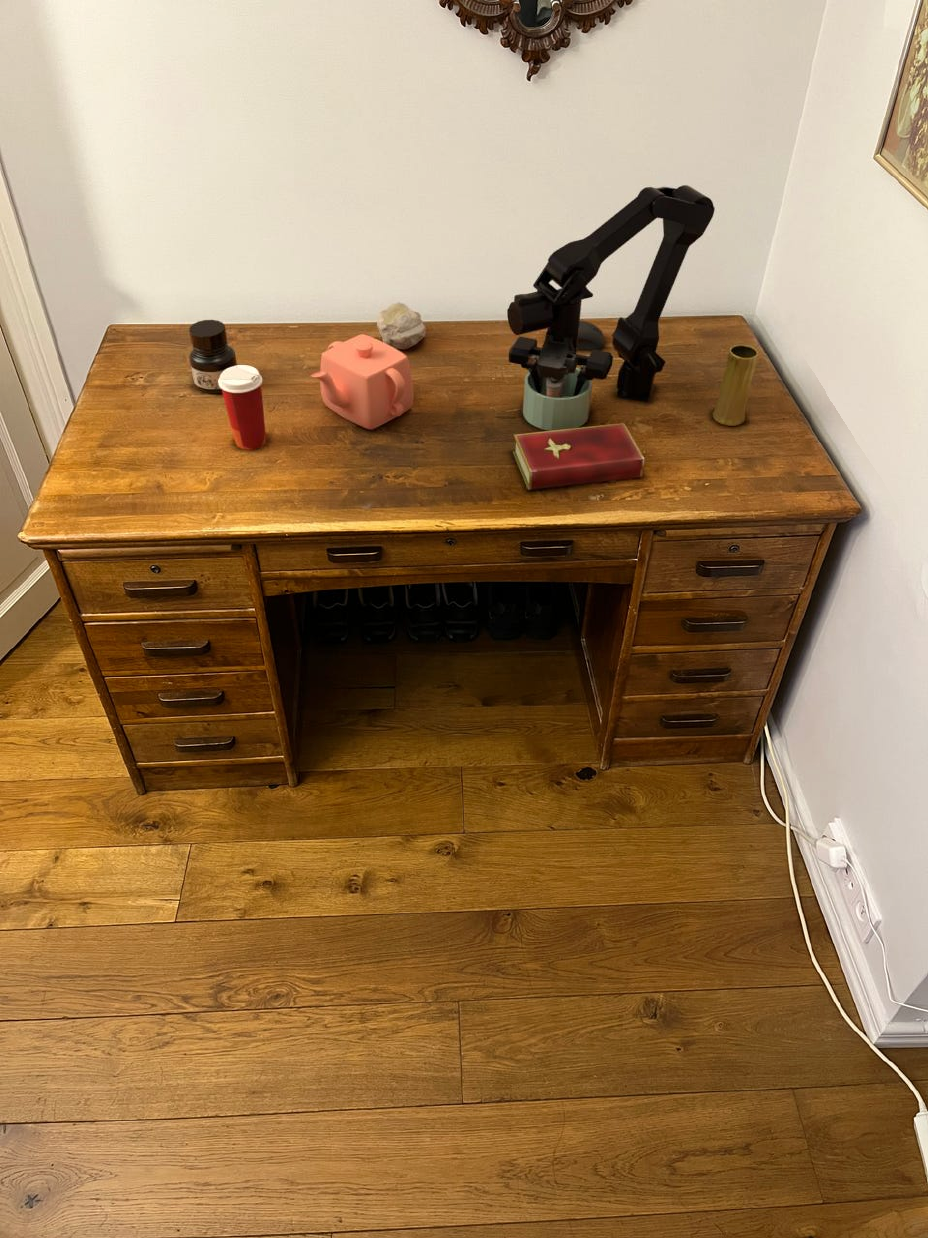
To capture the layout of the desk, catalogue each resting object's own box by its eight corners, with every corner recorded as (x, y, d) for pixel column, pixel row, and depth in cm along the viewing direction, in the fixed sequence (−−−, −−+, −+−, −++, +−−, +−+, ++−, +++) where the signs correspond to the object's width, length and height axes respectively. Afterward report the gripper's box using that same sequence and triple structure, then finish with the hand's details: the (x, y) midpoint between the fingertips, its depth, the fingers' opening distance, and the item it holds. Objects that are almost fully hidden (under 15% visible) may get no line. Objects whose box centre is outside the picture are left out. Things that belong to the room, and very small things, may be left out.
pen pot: (595, 402, 194) (599, 370, 189) (579, 436, 185) (582, 404, 180) (533, 390, 197) (535, 358, 192) (514, 423, 188) (516, 391, 183)
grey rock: (432, 332, 214) (387, 332, 215) (428, 294, 208) (382, 295, 210) (422, 356, 204) (375, 356, 206) (418, 317, 199) (370, 317, 201)
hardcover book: (642, 478, 176) (645, 458, 173) (528, 491, 173) (530, 471, 170) (621, 440, 184) (624, 421, 181) (512, 452, 181) (513, 433, 178)
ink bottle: (184, 388, 196) (172, 333, 188) (208, 367, 202) (198, 313, 193) (226, 398, 193) (216, 343, 185) (249, 377, 199) (240, 322, 191)
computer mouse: (604, 350, 208) (606, 333, 206) (551, 349, 208) (552, 332, 206) (601, 335, 213) (603, 318, 210) (549, 334, 213) (551, 317, 210)
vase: (747, 413, 192) (764, 347, 182) (740, 429, 188) (756, 362, 178) (717, 406, 193) (731, 340, 183) (709, 421, 189) (723, 355, 179)
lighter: (558, 422, 188) (562, 375, 181) (541, 419, 188) (544, 373, 181) (565, 400, 193) (569, 354, 186) (548, 397, 194) (552, 352, 187)
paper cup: (278, 434, 185) (268, 367, 175) (259, 456, 180) (248, 389, 170) (241, 426, 187) (229, 360, 177) (221, 448, 181) (208, 381, 172)
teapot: (284, 415, 190) (275, 350, 180) (358, 376, 200) (353, 313, 190) (354, 456, 180) (349, 390, 170) (428, 414, 190) (427, 349, 180)
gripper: (500, 333, 174) (498, 409, 185) (603, 352, 170) (594, 428, 181) (519, 306, 182) (515, 380, 193) (617, 323, 178) (608, 398, 189)
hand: (557, 397), depth 189 cm, fingers open, 7 cm apart
